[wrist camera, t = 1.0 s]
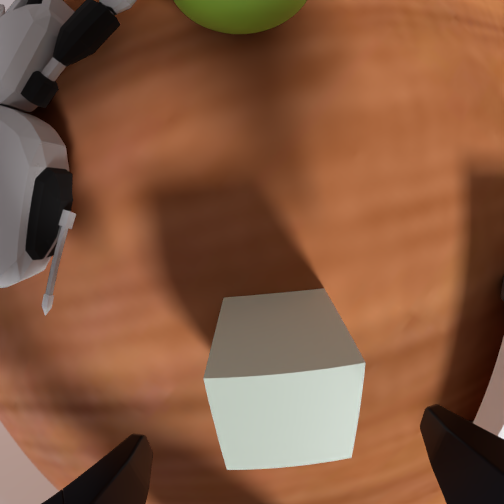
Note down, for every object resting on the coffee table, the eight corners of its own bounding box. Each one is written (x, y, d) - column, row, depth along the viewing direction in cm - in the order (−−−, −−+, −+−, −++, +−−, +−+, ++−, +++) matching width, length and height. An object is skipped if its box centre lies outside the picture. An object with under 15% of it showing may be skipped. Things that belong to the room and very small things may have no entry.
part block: (323, 369, 15) (351, 457, 9) (235, 377, 15) (226, 469, 9) (324, 288, 14) (365, 362, 8) (223, 297, 14) (203, 378, 8)
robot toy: (11, 21, 11) (-46, 237, 13) (-27, -3, 6) (-92, 248, 9) (170, 9, 11) (89, 298, 14) (147, -44, 7) (38, 333, 9)
